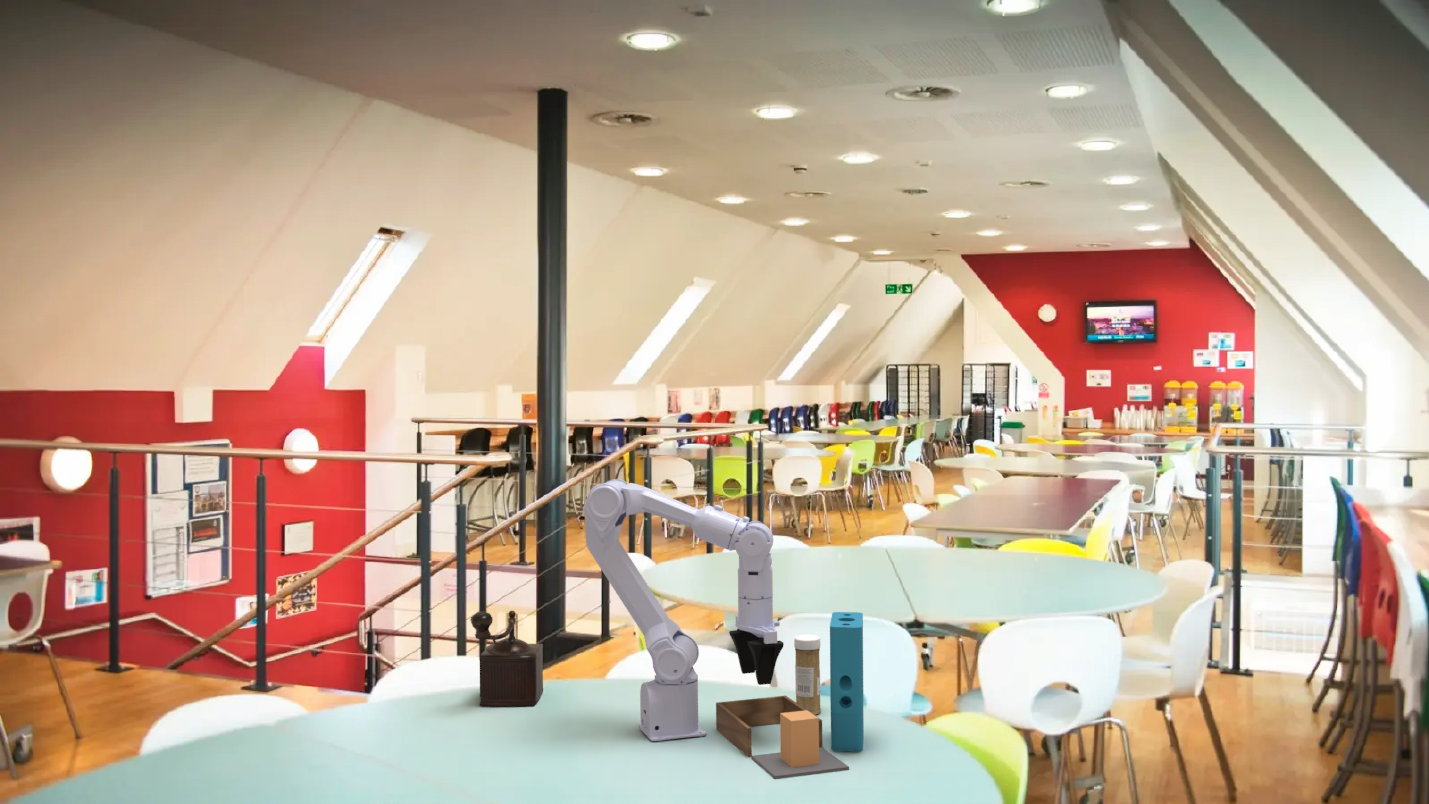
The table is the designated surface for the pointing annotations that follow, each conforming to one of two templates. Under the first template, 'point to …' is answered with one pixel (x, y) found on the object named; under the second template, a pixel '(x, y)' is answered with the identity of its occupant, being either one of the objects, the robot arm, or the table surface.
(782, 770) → the charcoal mat
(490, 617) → the manual coffee grinder
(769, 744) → the table surface
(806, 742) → the orange block
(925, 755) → the table surface
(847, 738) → the block
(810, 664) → the sprinkles bottle
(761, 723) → the walnut box
